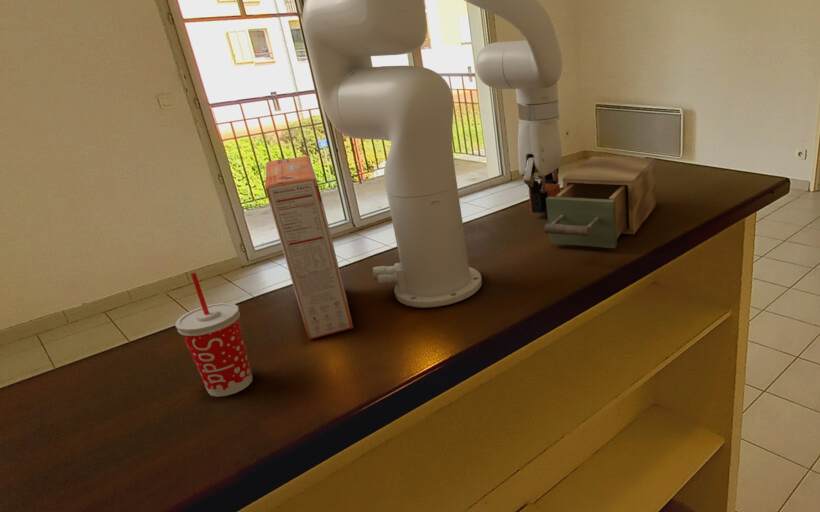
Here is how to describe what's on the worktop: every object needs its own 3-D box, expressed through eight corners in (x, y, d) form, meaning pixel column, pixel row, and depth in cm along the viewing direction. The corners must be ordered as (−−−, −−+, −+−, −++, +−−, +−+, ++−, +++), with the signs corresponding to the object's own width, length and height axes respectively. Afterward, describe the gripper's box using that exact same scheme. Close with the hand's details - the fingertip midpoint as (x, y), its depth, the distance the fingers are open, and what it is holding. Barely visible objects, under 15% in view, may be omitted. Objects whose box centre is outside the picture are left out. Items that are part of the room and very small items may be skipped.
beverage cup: (187, 400, 68) (145, 286, 62) (224, 369, 73) (188, 262, 68) (237, 401, 67) (198, 286, 61) (270, 370, 72) (238, 261, 67)
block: (552, 213, 115) (550, 190, 113) (530, 212, 116) (528, 189, 115) (561, 206, 119) (559, 183, 117) (540, 205, 120) (538, 183, 119)
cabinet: (633, 234, 105) (632, 180, 102) (566, 229, 110) (562, 178, 106) (655, 206, 119) (655, 158, 115) (594, 203, 123) (592, 156, 120)
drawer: (602, 263, 93) (599, 215, 90) (534, 257, 97) (529, 210, 94) (639, 218, 110) (637, 176, 107) (580, 215, 114) (577, 174, 111)
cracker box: (301, 300, 90) (263, 160, 82) (343, 290, 92) (311, 153, 84) (305, 342, 78) (261, 184, 70) (354, 330, 80) (317, 175, 72)
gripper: (538, 105, 119) (545, 195, 126) (498, 119, 105) (508, 220, 111) (574, 105, 117) (579, 197, 123) (538, 120, 102) (546, 223, 109)
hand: (545, 207), depth 117 cm, fingers closed on block, 4 cm apart
